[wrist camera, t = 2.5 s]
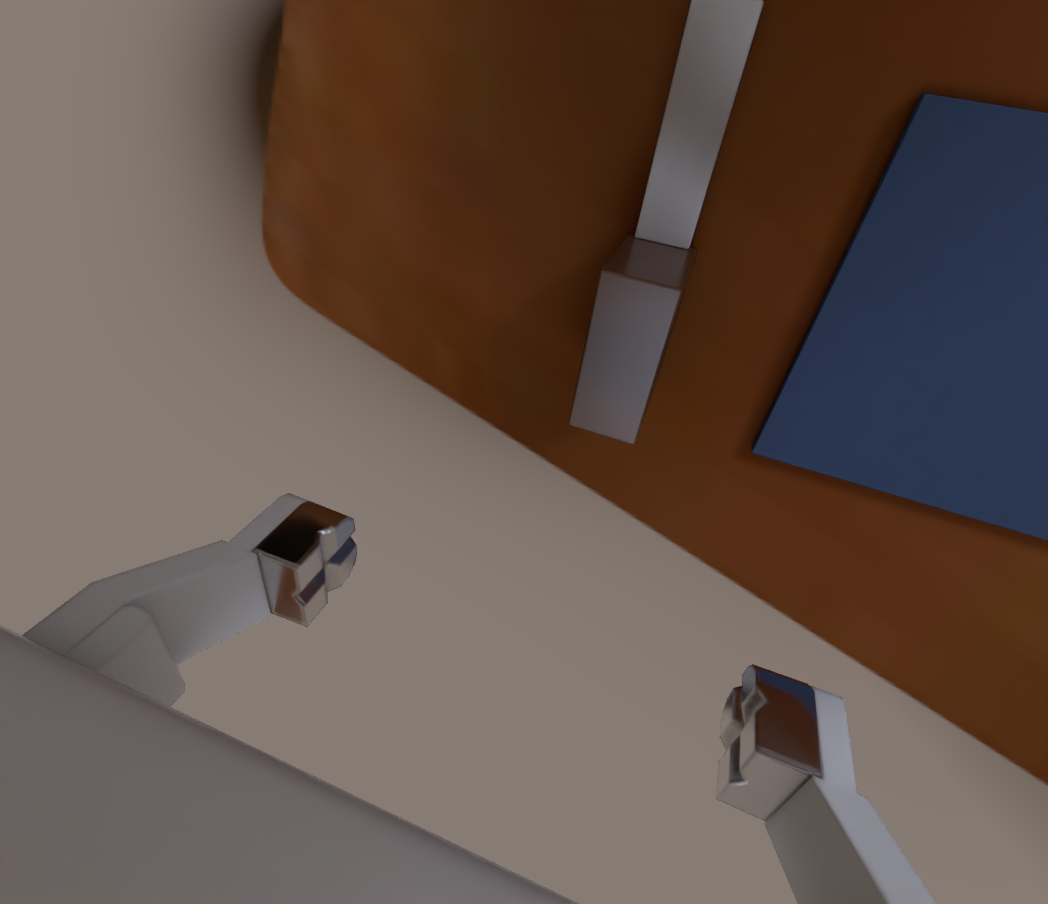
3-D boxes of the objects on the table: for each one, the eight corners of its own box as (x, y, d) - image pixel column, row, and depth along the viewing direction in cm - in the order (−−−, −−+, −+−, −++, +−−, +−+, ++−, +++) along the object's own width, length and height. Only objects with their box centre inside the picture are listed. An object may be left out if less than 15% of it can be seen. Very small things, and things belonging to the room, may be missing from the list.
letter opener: (654, 388, 24) (634, 445, 20) (596, 371, 24) (567, 425, 21) (774, 3, 16) (776, -13, 12) (685, -10, 16) (662, -28, 13)
